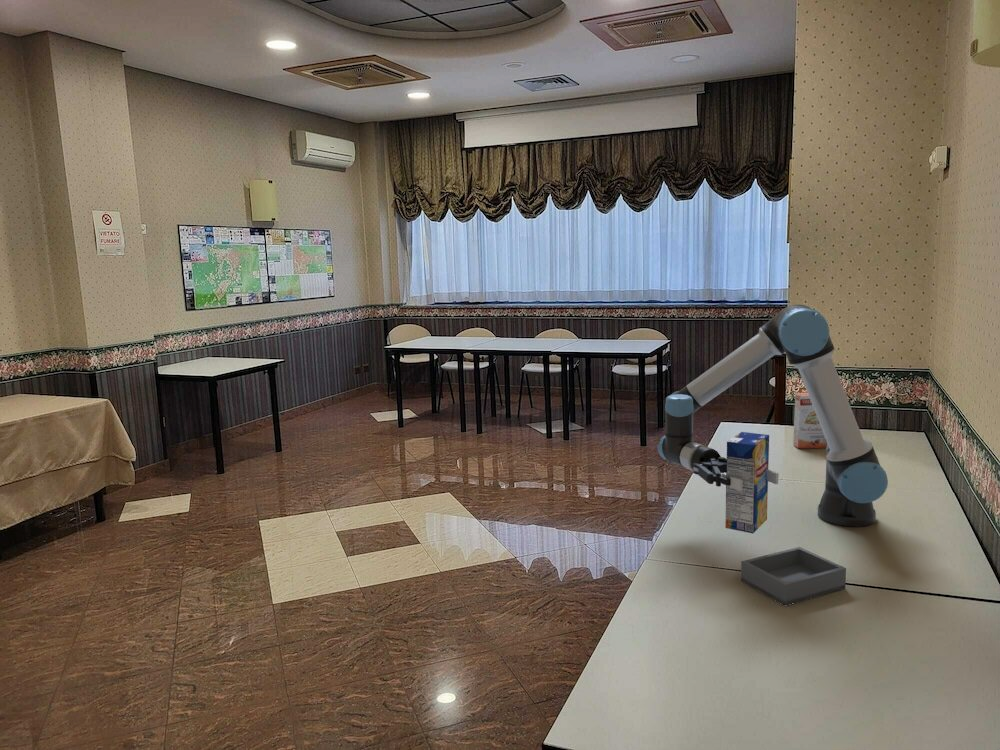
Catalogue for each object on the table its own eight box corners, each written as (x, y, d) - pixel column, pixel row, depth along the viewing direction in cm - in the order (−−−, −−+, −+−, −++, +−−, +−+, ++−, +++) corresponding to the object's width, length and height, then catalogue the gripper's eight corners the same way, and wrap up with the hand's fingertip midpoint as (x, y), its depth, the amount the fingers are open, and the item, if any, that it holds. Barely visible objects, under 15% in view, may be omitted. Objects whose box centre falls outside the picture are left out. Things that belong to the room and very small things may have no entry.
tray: (798, 566, 183) (799, 546, 182) (845, 588, 171) (846, 568, 170) (740, 581, 176) (741, 561, 175) (784, 606, 164) (785, 584, 163)
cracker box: (798, 449, 283) (800, 395, 280) (792, 445, 289) (794, 392, 286) (835, 448, 283) (838, 394, 279) (829, 444, 289) (831, 391, 285)
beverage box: (725, 528, 183) (726, 441, 179) (740, 514, 192) (741, 431, 188) (753, 533, 179) (755, 445, 175) (767, 519, 188) (769, 434, 184)
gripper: (734, 466, 205) (795, 489, 185) (665, 479, 196) (721, 504, 176) (735, 440, 203) (796, 460, 183) (665, 451, 195) (721, 474, 175)
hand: (759, 482), depth 180 cm, fingers closed on beverage box, 10 cm apart
